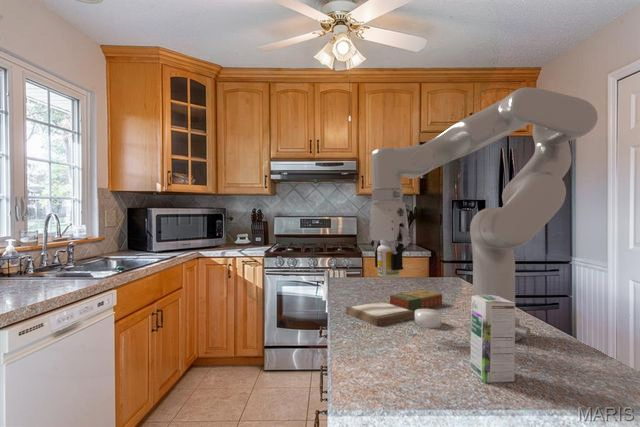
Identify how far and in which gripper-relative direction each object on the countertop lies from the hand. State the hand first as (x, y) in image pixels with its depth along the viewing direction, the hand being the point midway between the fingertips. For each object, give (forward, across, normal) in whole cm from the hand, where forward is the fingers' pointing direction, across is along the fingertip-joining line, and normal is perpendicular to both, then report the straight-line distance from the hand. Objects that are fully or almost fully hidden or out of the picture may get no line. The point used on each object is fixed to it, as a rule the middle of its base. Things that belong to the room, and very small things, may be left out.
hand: (388, 267), depth 92 cm
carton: (+17, +15, -25) cm, 34 cm away
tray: (+16, +12, -7) cm, 22 cm away
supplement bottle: (+2, 0, 0) cm, 2 cm away
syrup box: (+17, -28, +1) cm, 33 cm away
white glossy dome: (+17, 0, -13) cm, 21 cm away
